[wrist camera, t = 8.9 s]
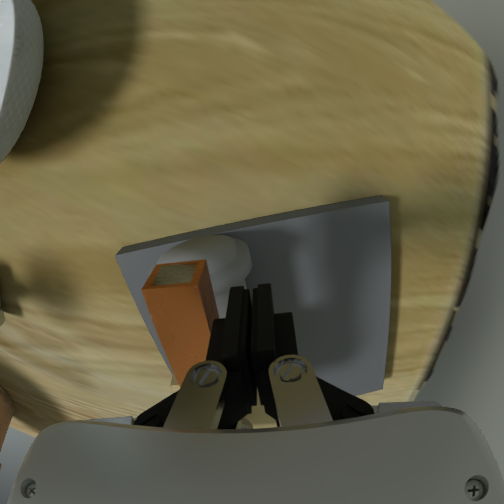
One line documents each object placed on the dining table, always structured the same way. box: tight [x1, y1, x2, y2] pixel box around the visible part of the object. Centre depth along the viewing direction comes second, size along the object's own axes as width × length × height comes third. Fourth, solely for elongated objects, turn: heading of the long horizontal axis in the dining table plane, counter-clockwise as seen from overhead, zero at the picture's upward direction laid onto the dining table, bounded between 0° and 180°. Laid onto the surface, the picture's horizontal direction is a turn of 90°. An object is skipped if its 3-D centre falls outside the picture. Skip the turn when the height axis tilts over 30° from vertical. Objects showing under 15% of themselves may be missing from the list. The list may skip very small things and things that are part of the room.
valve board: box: [115, 195, 391, 429], centre depth 21 cm, size 20×20×9 cm
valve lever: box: [141, 259, 254, 429], centre depth 14 cm, size 14×3×2 cm, turn 7°
